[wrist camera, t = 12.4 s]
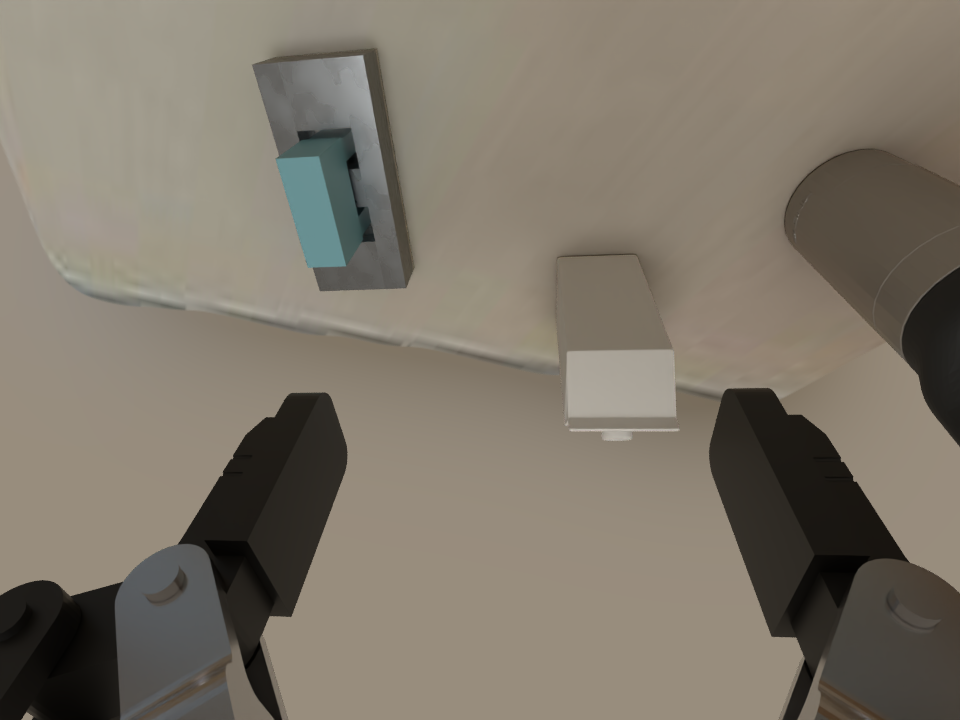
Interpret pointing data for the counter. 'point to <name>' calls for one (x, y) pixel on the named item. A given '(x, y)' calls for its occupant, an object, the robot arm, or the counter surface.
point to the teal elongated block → (324, 197)
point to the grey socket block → (372, 168)
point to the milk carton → (612, 349)
